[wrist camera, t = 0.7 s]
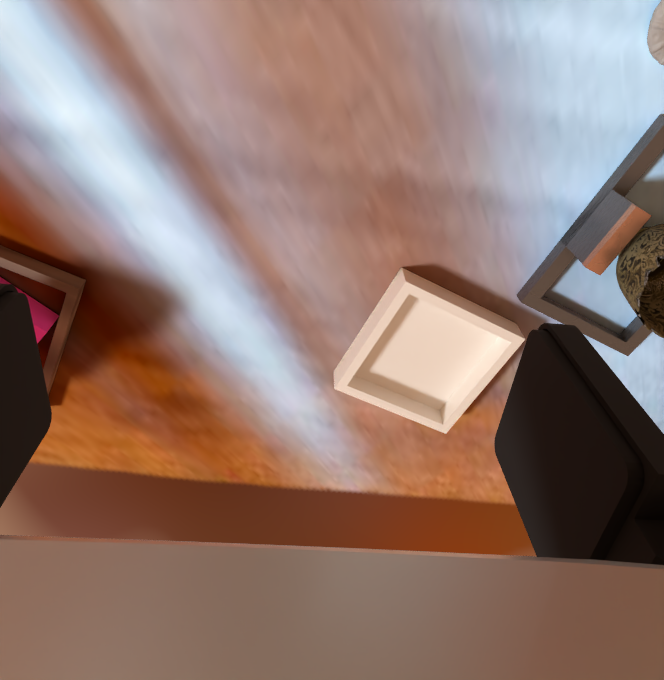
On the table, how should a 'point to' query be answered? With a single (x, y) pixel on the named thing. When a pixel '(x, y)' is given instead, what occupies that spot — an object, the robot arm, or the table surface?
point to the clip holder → (600, 243)
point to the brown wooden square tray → (58, 281)
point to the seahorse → (657, 34)
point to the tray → (426, 352)
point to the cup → (644, 276)
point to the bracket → (38, 315)
